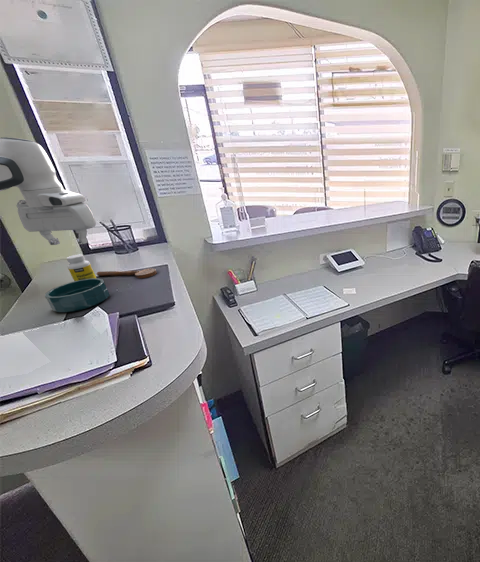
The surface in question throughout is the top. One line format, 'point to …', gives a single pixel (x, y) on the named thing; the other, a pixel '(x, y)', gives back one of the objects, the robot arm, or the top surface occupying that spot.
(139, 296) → the top surface
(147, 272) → the spoon
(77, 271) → the supplement bottle
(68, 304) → the bowl
